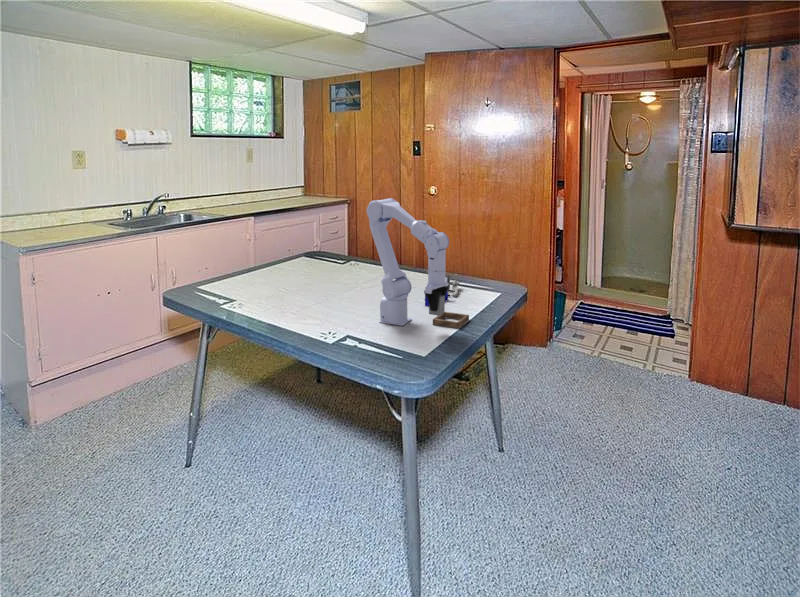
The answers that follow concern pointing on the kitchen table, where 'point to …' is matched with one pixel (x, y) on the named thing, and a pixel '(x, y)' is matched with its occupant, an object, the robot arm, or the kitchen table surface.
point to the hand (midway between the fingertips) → (436, 308)
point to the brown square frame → (461, 317)
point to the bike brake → (454, 283)
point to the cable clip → (428, 302)
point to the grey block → (439, 307)
